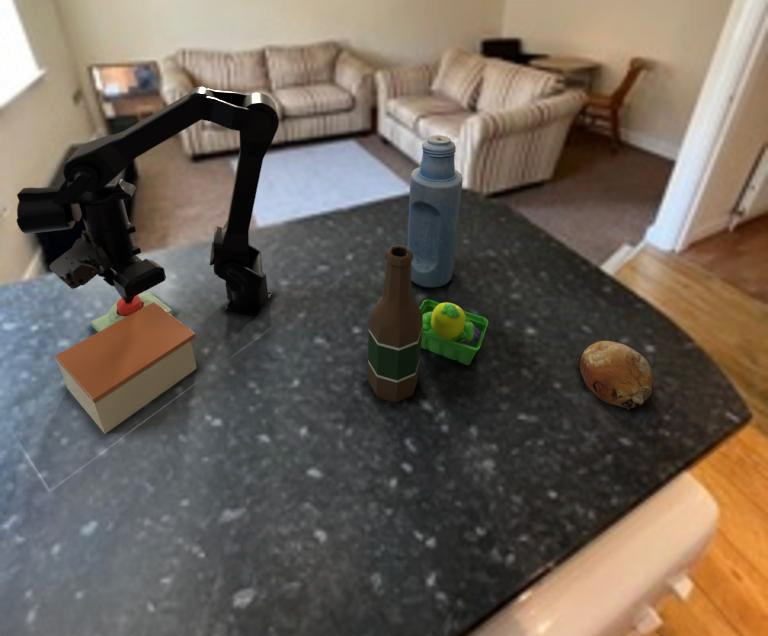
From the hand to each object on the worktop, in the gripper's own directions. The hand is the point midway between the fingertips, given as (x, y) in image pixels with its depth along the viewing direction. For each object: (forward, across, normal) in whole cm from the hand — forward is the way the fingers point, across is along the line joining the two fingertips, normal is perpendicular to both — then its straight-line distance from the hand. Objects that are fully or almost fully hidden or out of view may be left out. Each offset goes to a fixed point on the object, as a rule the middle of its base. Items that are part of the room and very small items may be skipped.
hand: (128, 301), depth 77 cm
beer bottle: (+5, +44, +18) cm, 47 cm away
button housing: (+4, 0, 0) cm, 4 cm away
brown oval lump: (+5, +71, +38) cm, 80 cm away
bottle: (+5, +34, +44) cm, 56 cm away
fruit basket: (+5, +47, +28) cm, 55 cm away
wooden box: (+4, +12, -6) cm, 14 cm away
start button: (+2, 0, 0) cm, 2 cm away
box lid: (-1, +12, -6) cm, 13 cm away
